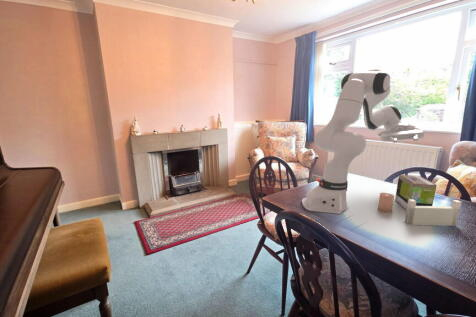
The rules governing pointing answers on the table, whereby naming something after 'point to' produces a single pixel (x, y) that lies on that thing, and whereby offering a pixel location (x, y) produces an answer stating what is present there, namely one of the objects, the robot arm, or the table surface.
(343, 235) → the table surface
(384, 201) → the tan small cylinder
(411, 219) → the display rail
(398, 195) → the tea box
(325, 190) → the robot arm
